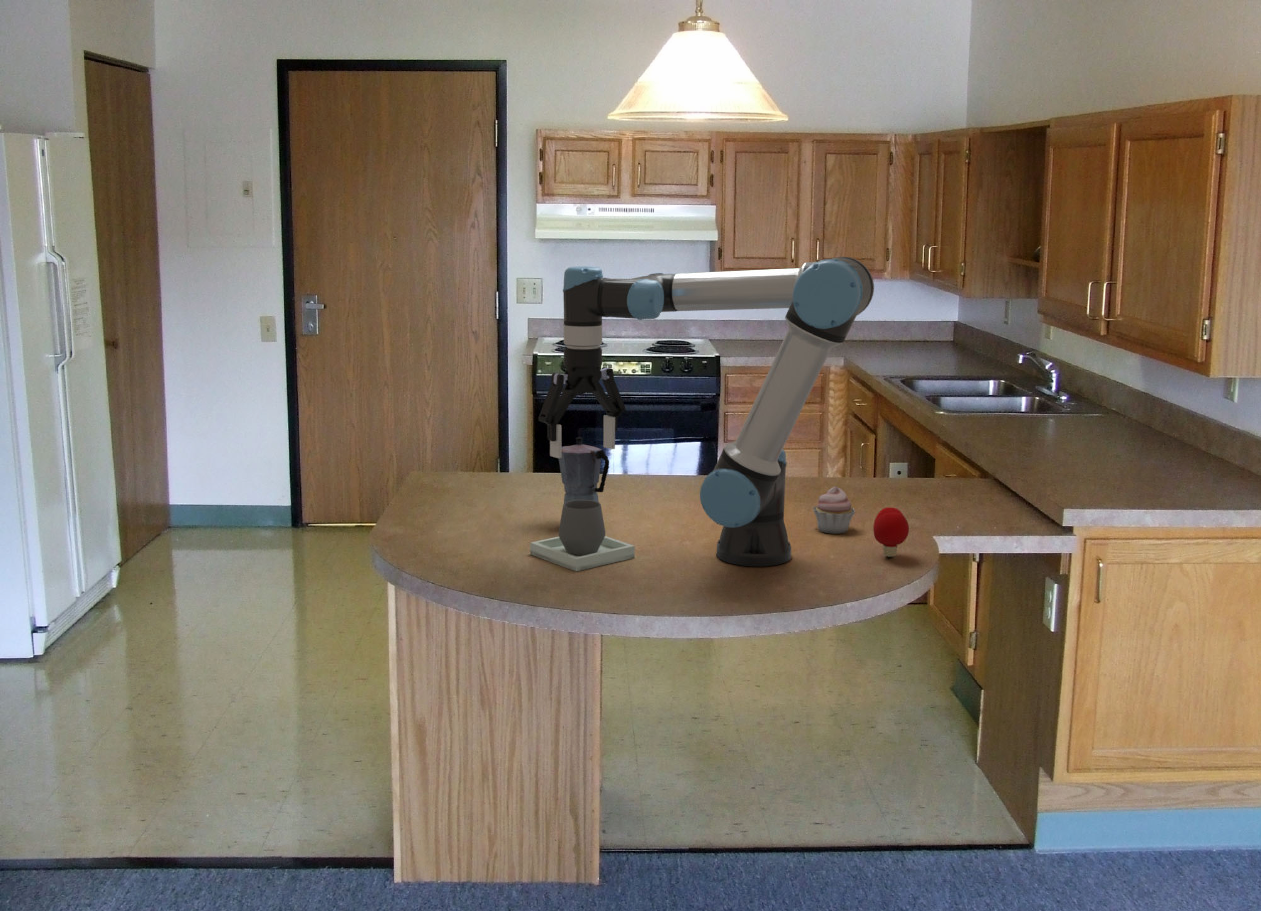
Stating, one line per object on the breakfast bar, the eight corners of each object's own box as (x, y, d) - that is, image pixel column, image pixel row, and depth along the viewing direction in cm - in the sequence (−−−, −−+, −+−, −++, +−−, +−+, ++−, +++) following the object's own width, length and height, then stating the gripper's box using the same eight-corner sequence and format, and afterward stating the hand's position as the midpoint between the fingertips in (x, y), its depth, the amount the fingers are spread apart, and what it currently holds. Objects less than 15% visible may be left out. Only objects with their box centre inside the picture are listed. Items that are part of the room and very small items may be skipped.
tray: (634, 557, 266) (634, 545, 266) (576, 571, 257) (576, 559, 256) (587, 541, 277) (588, 530, 277) (530, 554, 268) (530, 542, 267)
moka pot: (572, 517, 297) (572, 430, 293) (624, 529, 287) (625, 439, 283) (543, 525, 290) (542, 436, 285) (596, 538, 280) (596, 446, 276)
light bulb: (868, 551, 273) (871, 504, 270) (902, 551, 272) (905, 504, 270) (875, 564, 264) (878, 515, 261) (910, 564, 263) (913, 516, 261)
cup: (614, 554, 266) (614, 506, 263) (574, 561, 260) (574, 512, 258) (588, 543, 273) (589, 496, 271) (550, 550, 268) (549, 502, 266)
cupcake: (818, 537, 283) (820, 491, 281) (806, 525, 292) (808, 481, 290) (860, 535, 284) (862, 490, 282) (847, 524, 293) (849, 480, 291)
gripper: (619, 339, 269) (618, 441, 273) (519, 349, 253) (521, 457, 257) (643, 343, 263) (642, 447, 268) (543, 353, 247) (544, 464, 252)
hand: (582, 452), depth 262 cm, fingers open, 13 cm apart
